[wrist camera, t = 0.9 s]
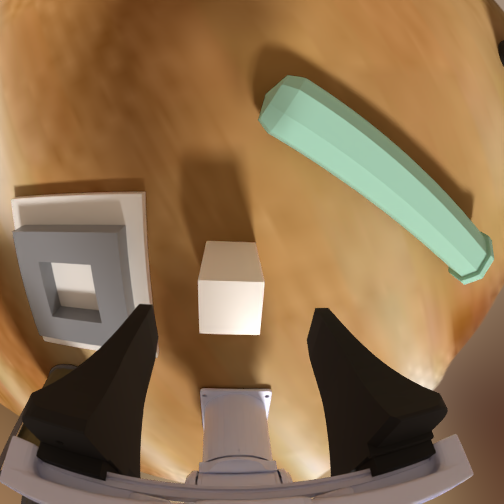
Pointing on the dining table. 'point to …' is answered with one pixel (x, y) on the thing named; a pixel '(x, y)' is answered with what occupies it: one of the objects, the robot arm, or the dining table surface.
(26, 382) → the dining table surface
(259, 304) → the block
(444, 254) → the container
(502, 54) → the drinking cup
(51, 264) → the plate
